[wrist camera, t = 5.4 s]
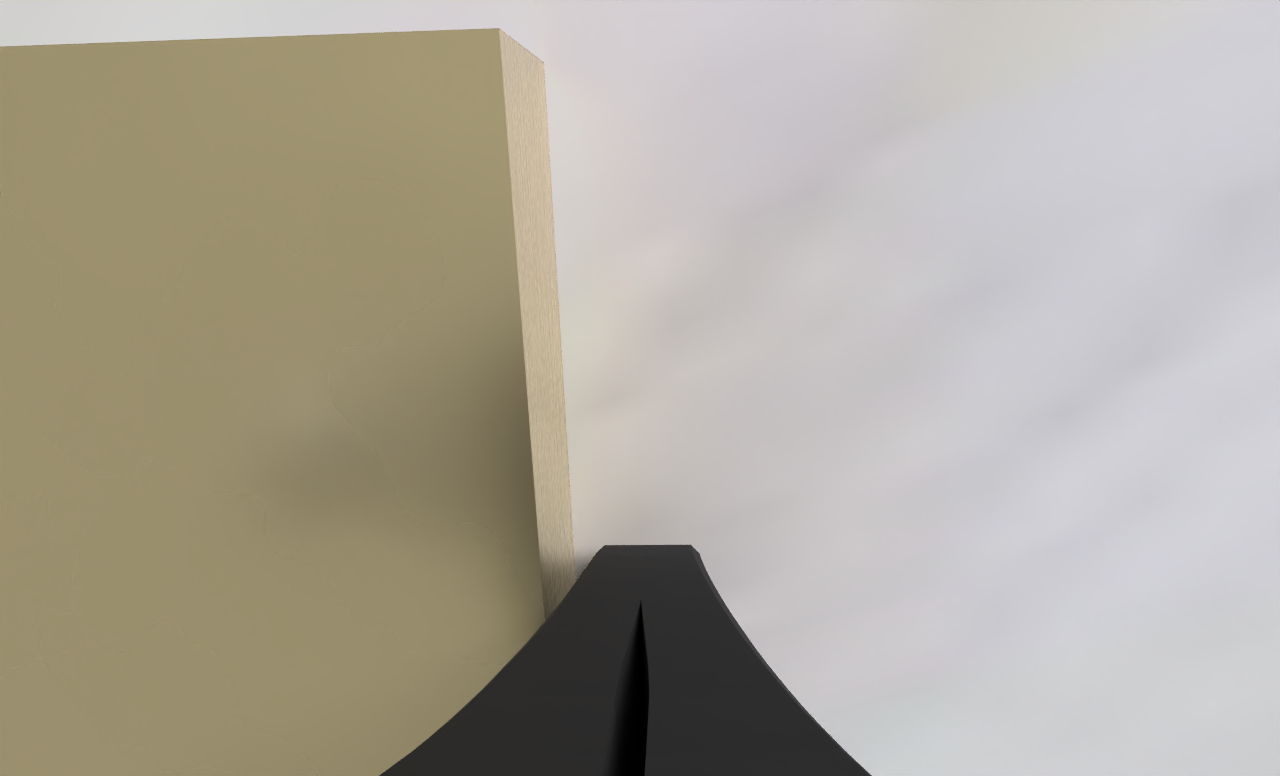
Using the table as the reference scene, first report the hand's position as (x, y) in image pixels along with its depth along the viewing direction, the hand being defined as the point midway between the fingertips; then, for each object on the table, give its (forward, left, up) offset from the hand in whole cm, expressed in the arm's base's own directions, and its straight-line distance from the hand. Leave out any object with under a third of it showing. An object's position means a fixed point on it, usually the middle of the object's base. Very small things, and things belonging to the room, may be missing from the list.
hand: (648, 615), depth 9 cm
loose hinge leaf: (0, +6, -1) cm, 6 cm away
